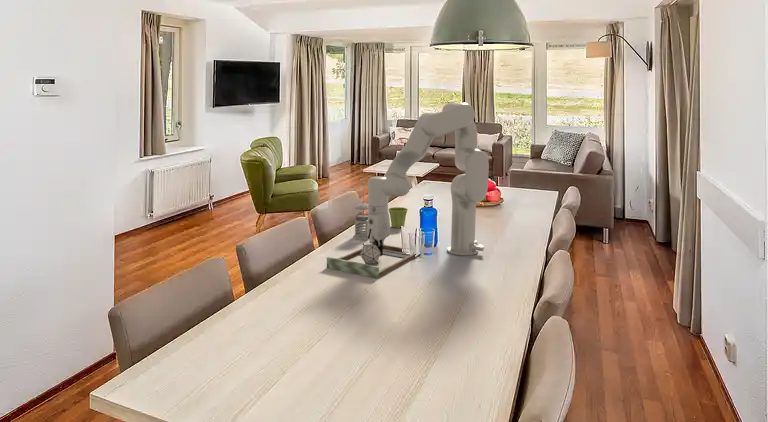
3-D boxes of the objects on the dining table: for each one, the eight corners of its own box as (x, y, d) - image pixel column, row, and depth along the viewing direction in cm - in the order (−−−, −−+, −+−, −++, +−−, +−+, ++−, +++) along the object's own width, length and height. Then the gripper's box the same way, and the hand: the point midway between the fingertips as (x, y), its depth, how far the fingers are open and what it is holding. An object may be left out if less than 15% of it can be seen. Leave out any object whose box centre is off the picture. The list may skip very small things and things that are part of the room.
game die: (373, 274, 201) (378, 259, 193) (353, 265, 201) (357, 249, 194) (382, 257, 206) (387, 242, 199) (362, 248, 207) (366, 233, 200)
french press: (360, 232, 246) (360, 179, 240) (382, 236, 240) (382, 181, 235) (348, 237, 237) (347, 182, 232) (370, 241, 232) (370, 184, 226)
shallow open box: (421, 254, 213) (421, 244, 212) (377, 278, 185) (377, 267, 185) (374, 246, 224) (374, 237, 223) (326, 267, 197) (326, 257, 196)
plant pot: (386, 224, 261) (386, 207, 259) (404, 223, 263) (404, 206, 261) (390, 229, 252) (390, 211, 250) (409, 228, 254) (410, 210, 252)
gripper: (375, 214, 194) (375, 262, 198) (396, 206, 206) (396, 252, 210) (358, 211, 198) (359, 258, 202) (380, 204, 210) (380, 249, 214)
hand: (378, 255), depth 206 cm, fingers closed
